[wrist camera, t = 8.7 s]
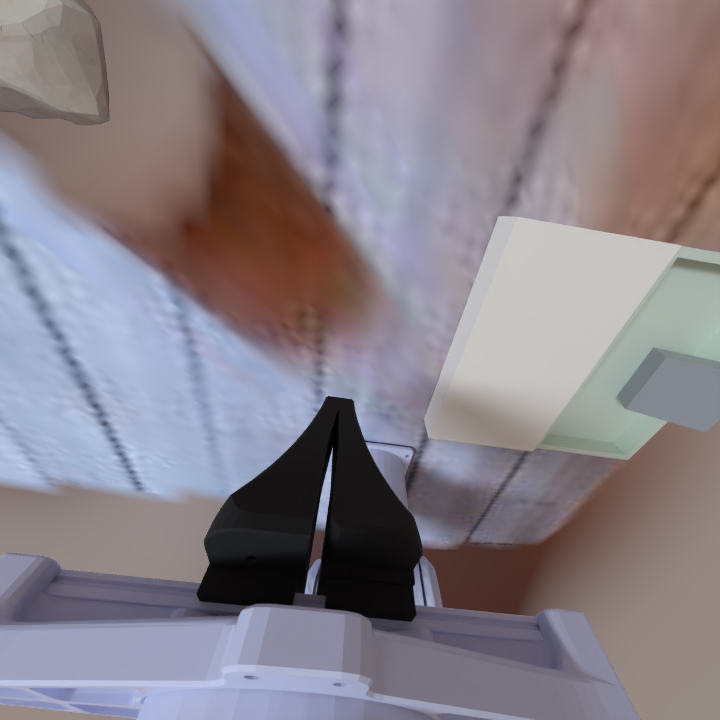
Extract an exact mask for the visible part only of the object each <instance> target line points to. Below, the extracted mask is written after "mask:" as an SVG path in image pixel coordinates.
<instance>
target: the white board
mask: <svg viewBox="0 0 720 720" xmlns="http://www.w3.org/2000/svg"><path fill="white" fill-rule="evenodd" d="M680 247H681V245H676V244H670V243H664V242H658V241H653V240H647V239H641V238H635V237H630V236H624V235H618V234H613V233H607V232H601V231H595V230H590V229H584V228H578V227H572V226H567V225H561V224H555V223H549V222H544V221H538V220H532V219H526V218H521V217H508V216H499V217H498V219H497V222H496V225H495V228H494V230H493V233H492V236H491V238H490V241H489V244H488V246H487V249H486V252H485V255H484V257H483V260H482V263H481V265H480V268H479V271H478V274H477V276H476V279H475V282H474V284H473V287H472V290H471V293H470V295H469V298H468V301H467V303H466V306H465V309H464V312H463V314H462V317H461V320H460V322H459V325H458V328H457V331H456V333H455V336H454V339H453V341H452V344H451V347H450V350H449V352H448V355H447V358H446V360H445V363H444V366H443V369H442V371H441V374H440V377H439V379H438V382H437V385H436V388H435V390H434V393H433V396H432V398H431V401H430V404H429V407H428V409H427V412H426V415H425V417H424V422H425V426H426V429H427V433H428V437H429V438H430V439H438V440H446V441H454V442H461V443H469V444H477V445H485V446H492V447H500V448H508V449H516V450H524V451H531V452H533V451H534V449H535V448H536V446H537V445H538V444H539V442H540V441H541V440H542V438H543V437H544V435H545V434H546V433H547V431H548V430H549V428H550V427H551V426H552V424H553V423H554V422H555V420H556V419H557V417H558V416H559V415H560V413H561V412H562V410H563V409H564V408H565V406H566V405H567V404H568V402H569V401H570V399H571V398H572V397H573V395H574V394H575V392H576V391H577V390H578V388H579V387H580V386H581V384H582V383H583V381H584V380H585V379H586V377H587V376H588V375H589V373H590V372H591V370H592V369H593V368H594V366H595V365H596V363H597V362H598V361H599V359H600V358H601V357H602V355H603V354H604V352H605V351H606V350H607V348H608V347H609V345H610V344H611V343H612V341H613V340H614V339H615V337H616V336H617V334H618V333H619V332H620V330H621V329H622V327H623V326H624V325H625V323H626V322H627V321H628V319H629V318H630V316H631V315H632V314H633V312H634V311H635V310H636V308H637V307H638V305H639V304H640V303H641V301H642V300H643V298H644V297H645V296H646V294H647V293H648V292H649V290H650V289H651V287H652V286H653V285H654V283H655V282H656V280H657V279H658V278H659V276H660V275H661V274H662V272H663V271H664V269H665V268H666V267H667V265H668V264H669V262H670V261H671V260H672V258H673V257H674V256H675V254H676V253H677V251H678V250H679V249H680Z"/></svg>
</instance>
